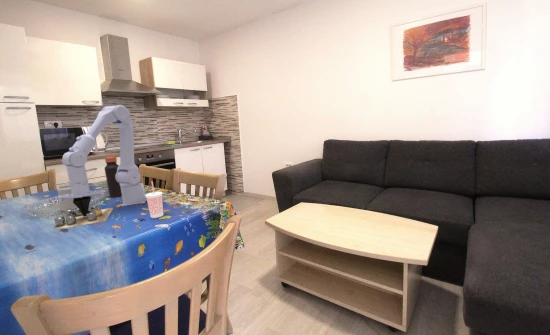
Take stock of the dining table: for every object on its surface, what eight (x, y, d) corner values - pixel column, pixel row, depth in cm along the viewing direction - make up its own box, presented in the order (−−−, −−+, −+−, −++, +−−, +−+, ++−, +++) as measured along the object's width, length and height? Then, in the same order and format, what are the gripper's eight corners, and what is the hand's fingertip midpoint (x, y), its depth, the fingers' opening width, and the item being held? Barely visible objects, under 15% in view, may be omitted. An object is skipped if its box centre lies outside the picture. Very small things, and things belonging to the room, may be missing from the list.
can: (71, 213, 113) (66, 186, 111) (57, 213, 115) (51, 186, 112) (87, 207, 120) (82, 181, 118) (73, 207, 122) (68, 181, 120)
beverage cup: (161, 211, 109) (156, 178, 106) (167, 215, 105) (163, 180, 102) (146, 216, 105) (140, 181, 102) (152, 219, 101) (146, 184, 98)
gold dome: (103, 213, 109) (102, 207, 109) (101, 216, 105) (99, 210, 105) (90, 215, 108) (89, 209, 107) (87, 218, 104) (86, 212, 103)
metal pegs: (102, 210, 113) (101, 203, 112) (95, 220, 101) (94, 213, 100) (66, 216, 108) (64, 209, 108) (53, 228, 96) (52, 220, 96)
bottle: (106, 197, 135) (99, 158, 131) (116, 193, 141) (109, 156, 138) (118, 197, 134) (111, 158, 130) (127, 193, 140) (121, 156, 136)
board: (113, 208, 116) (113, 207, 116) (105, 222, 101) (105, 220, 100) (69, 215, 110) (69, 214, 110) (53, 231, 95) (53, 229, 95)
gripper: (51, 187, 96) (59, 222, 99) (98, 181, 101) (104, 215, 104) (58, 183, 103) (66, 216, 105) (102, 178, 108) (108, 209, 111)
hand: (85, 215), depth 105 cm, fingers closed
